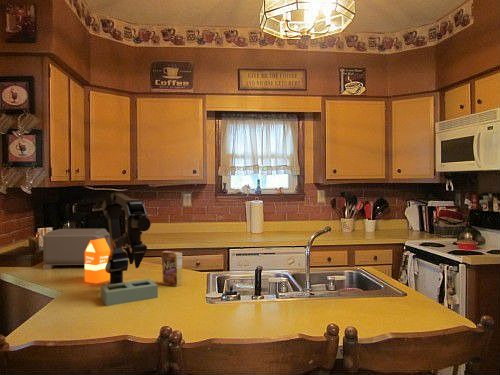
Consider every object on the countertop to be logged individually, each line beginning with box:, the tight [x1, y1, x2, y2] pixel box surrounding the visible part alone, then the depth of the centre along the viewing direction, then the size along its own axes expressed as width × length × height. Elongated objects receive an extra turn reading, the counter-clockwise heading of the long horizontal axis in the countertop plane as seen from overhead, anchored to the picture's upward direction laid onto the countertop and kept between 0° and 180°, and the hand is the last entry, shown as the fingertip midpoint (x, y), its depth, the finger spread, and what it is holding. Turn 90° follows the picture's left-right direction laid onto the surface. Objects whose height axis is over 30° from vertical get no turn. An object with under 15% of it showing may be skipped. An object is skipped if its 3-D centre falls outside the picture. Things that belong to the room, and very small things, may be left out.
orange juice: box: [84, 238, 111, 284], centre depth 183 cm, size 8×9×20 cm
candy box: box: [161, 250, 183, 288], centre depth 175 cm, size 9×4×15 cm, turn 60°
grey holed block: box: [100, 278, 159, 307], centre depth 155 cm, size 12×20×5 cm, turn 122°
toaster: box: [41, 228, 111, 271], centre depth 217 cm, size 19×35×20 cm, turn 92°
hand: (134, 266), depth 159 cm, fingers open, 9 cm apart
